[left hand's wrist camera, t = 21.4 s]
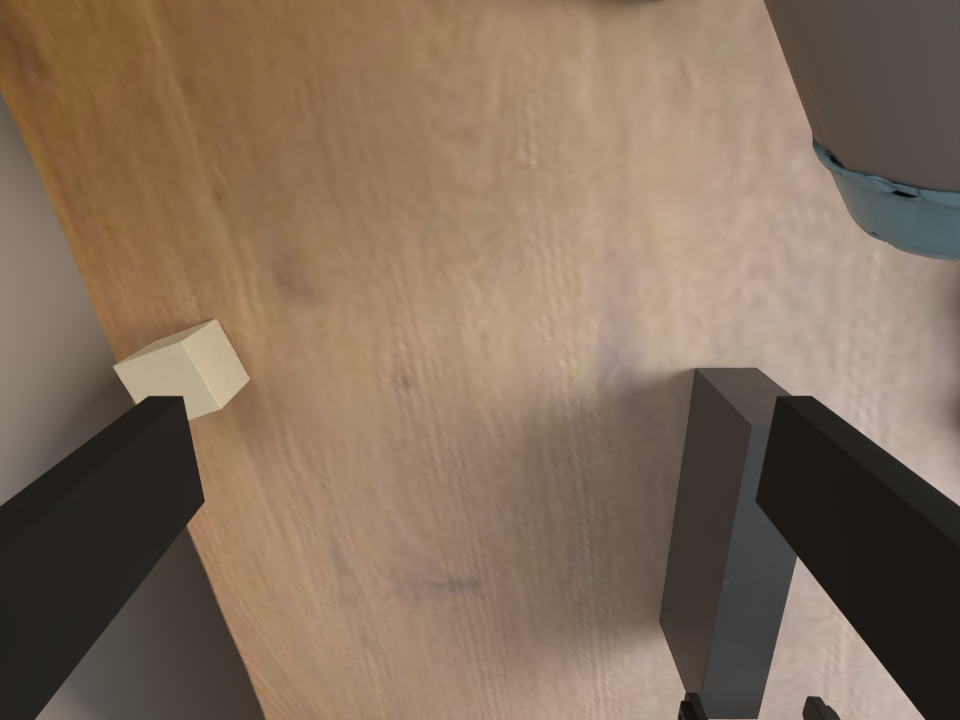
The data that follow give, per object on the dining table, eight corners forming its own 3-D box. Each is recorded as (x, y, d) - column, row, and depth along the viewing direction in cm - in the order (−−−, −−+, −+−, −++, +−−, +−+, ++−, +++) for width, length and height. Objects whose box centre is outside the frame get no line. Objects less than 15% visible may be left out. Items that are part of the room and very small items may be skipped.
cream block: (154, 340, 40) (111, 366, 35) (216, 318, 39) (181, 340, 35) (191, 400, 42) (154, 432, 37) (250, 379, 41) (221, 409, 36)
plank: (695, 367, 41) (751, 425, 32) (757, 367, 41) (829, 424, 32) (659, 621, 49) (696, 719, 41) (710, 621, 49) (757, 719, 41)
